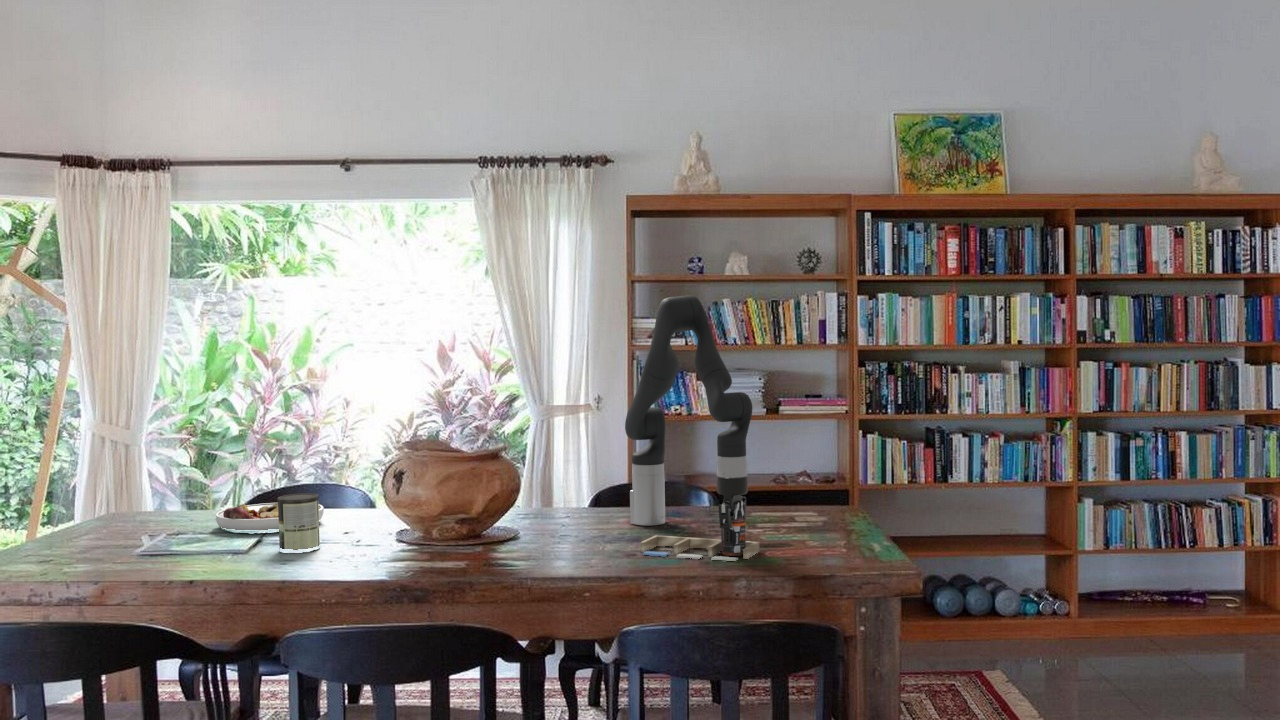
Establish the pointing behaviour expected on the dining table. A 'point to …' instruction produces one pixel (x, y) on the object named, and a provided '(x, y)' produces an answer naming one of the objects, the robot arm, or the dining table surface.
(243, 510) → the bowl
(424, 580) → the dining table surface
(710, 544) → the divider rack
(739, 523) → the supplement bottle
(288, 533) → the coffee can
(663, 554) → the bezel tiles
